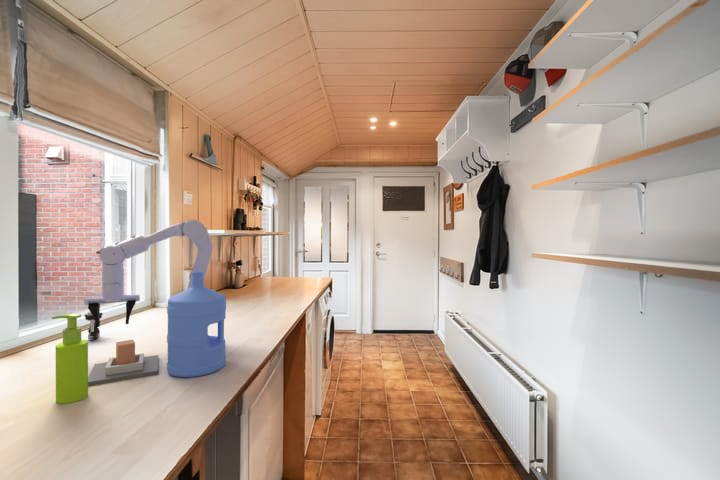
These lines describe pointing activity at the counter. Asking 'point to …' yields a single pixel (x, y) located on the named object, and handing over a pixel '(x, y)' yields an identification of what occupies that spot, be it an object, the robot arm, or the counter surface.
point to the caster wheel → (92, 326)
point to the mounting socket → (123, 370)
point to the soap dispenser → (71, 363)
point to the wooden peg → (125, 352)
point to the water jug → (195, 330)
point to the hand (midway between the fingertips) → (112, 324)
